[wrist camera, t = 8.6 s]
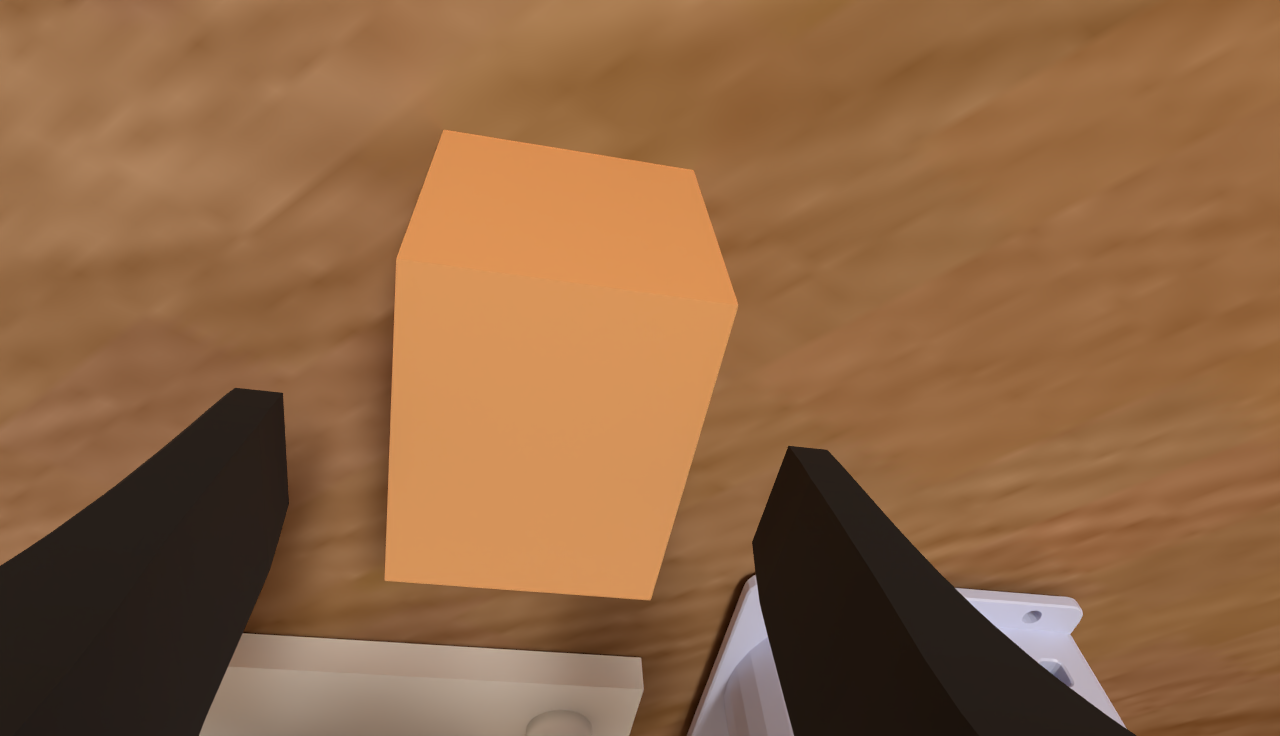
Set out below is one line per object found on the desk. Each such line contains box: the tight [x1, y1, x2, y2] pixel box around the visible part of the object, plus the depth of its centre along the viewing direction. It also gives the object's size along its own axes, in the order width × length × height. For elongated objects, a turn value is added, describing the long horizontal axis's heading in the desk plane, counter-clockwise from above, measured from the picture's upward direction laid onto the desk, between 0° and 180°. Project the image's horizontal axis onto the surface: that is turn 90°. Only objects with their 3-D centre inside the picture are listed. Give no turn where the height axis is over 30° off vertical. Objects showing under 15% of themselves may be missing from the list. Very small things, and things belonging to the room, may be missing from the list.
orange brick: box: [385, 130, 738, 600], centre depth 15 cm, size 4×6×5 cm
